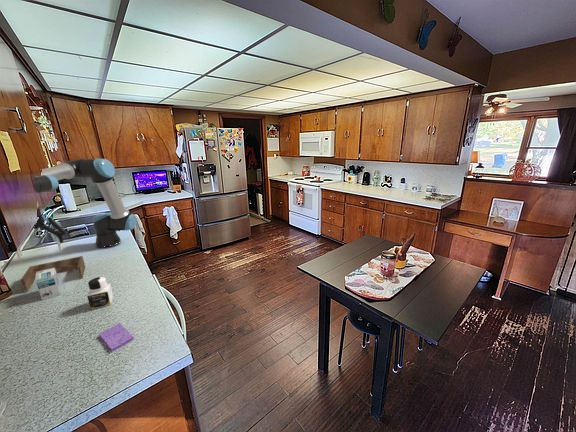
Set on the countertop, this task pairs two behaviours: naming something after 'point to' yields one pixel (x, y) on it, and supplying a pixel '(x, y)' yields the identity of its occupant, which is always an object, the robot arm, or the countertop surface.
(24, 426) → the countertop surface
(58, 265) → the walnut u-shaped bracket
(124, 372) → the countertop surface
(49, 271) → the light bulb box
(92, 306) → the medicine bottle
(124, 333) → the sponges
